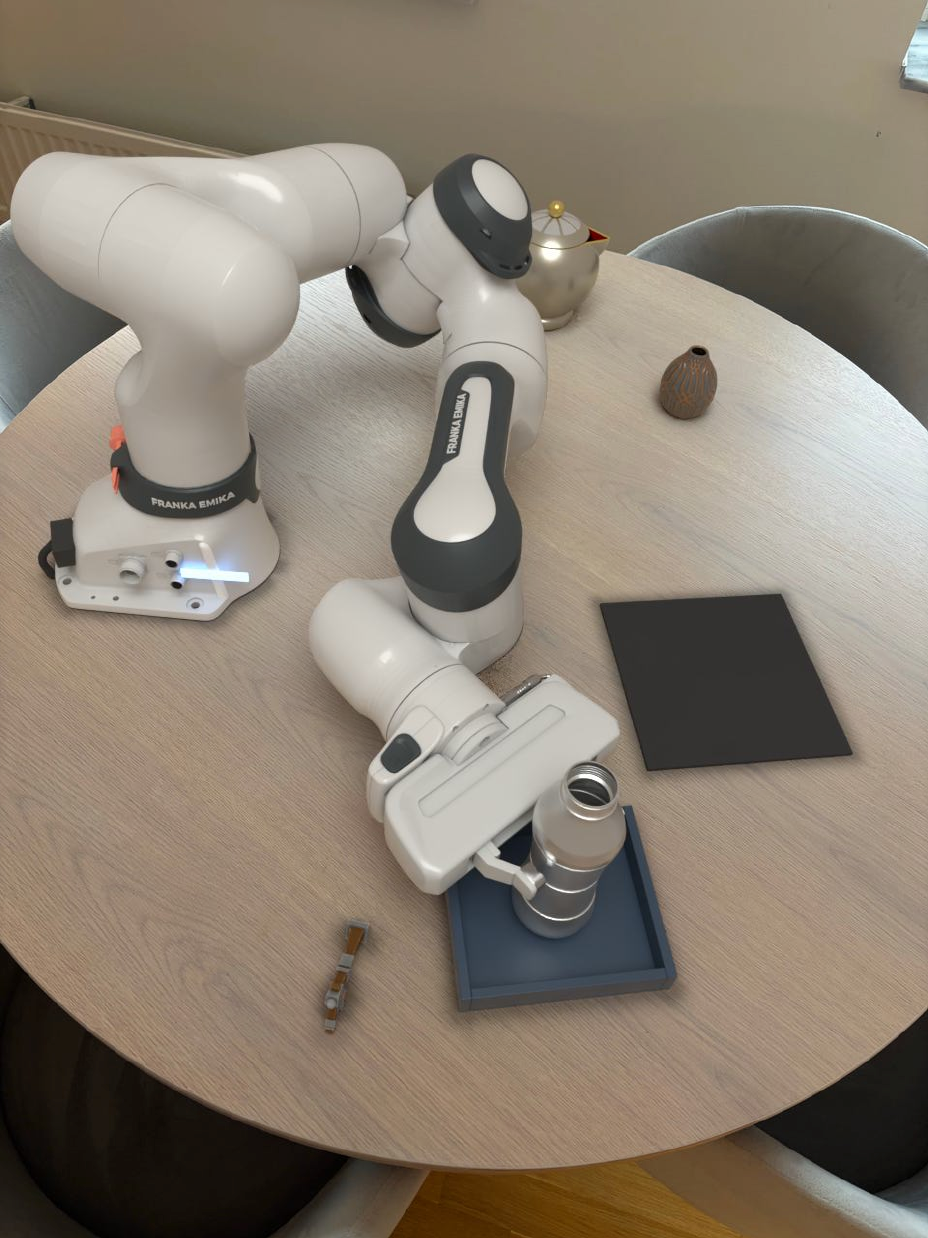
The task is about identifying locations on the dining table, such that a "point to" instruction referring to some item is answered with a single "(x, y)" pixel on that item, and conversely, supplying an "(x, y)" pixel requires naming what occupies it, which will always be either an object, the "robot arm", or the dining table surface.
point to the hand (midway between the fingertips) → (579, 856)
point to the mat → (720, 682)
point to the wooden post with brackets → (344, 971)
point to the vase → (689, 383)
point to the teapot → (560, 264)
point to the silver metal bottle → (572, 848)
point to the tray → (564, 967)
